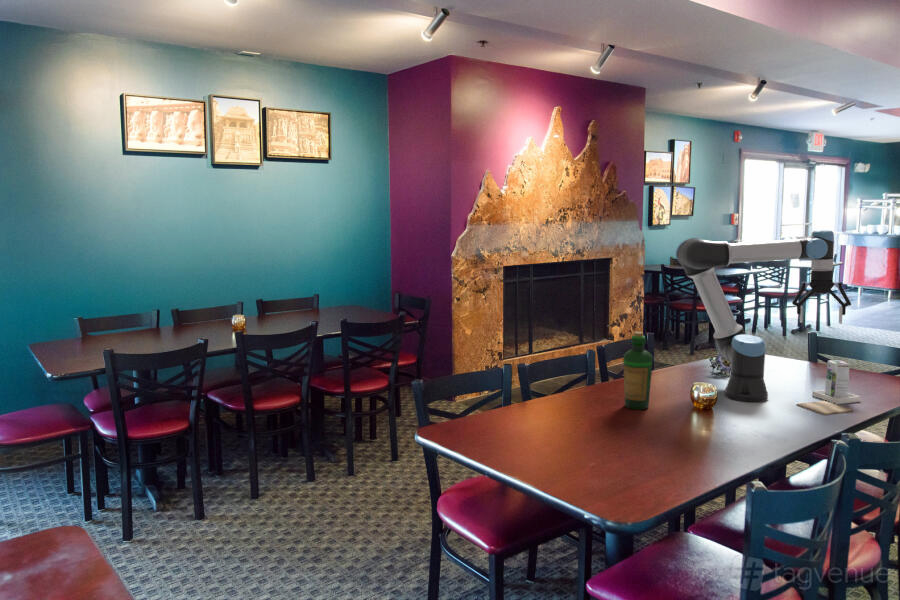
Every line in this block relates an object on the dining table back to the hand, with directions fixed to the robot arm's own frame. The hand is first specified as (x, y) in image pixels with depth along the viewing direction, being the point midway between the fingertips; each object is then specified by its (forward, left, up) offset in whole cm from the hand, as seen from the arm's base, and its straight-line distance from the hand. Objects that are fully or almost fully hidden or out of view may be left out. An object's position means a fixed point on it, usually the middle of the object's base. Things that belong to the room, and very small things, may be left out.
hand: (820, 322), depth 255 cm
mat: (-19, -22, -27) cm, 40 cm away
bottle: (-82, +1, -27) cm, 86 cm away
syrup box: (-5, -14, -27) cm, 31 cm away
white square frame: (-5, -14, -27) cm, 31 cm away
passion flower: (-20, +32, -27) cm, 47 cm away
